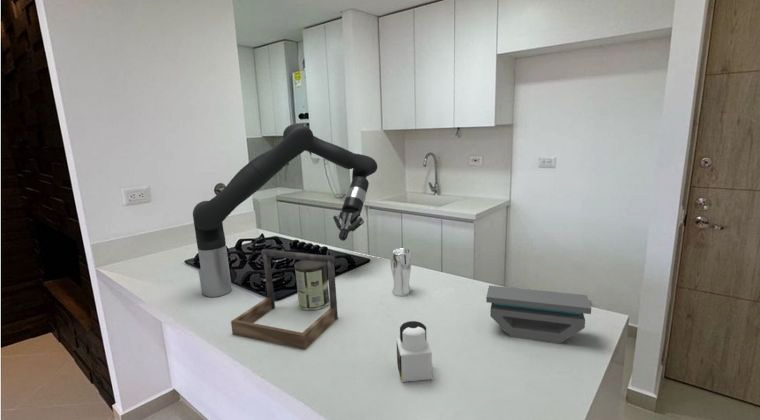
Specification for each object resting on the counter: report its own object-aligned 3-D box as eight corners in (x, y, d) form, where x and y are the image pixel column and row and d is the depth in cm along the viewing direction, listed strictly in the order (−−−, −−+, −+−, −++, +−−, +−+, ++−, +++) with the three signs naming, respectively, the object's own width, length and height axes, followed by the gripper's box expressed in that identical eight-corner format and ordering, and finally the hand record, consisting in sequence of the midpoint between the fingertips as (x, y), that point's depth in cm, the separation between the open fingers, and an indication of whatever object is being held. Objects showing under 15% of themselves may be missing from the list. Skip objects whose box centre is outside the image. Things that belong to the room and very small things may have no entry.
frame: (271, 306, 129) (265, 248, 125) (339, 317, 119) (334, 255, 115) (231, 333, 113) (222, 268, 108) (306, 349, 103) (299, 278, 99)
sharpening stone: (583, 332, 106) (586, 295, 103) (588, 348, 99) (591, 308, 96) (488, 320, 114) (489, 285, 112) (485, 333, 107) (486, 296, 105)
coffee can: (316, 294, 137) (313, 255, 134) (335, 302, 130) (333, 262, 127) (291, 304, 130) (287, 264, 127) (310, 313, 123) (307, 271, 120)
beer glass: (412, 288, 138) (411, 247, 135) (411, 296, 132) (410, 254, 128) (392, 288, 139) (390, 247, 136) (390, 296, 132) (389, 254, 129)
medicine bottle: (397, 364, 95) (395, 319, 93) (426, 361, 96) (425, 316, 93) (401, 383, 88) (399, 334, 86) (432, 380, 89) (431, 332, 86)
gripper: (336, 195, 154) (322, 233, 146) (366, 196, 149) (354, 236, 141) (343, 205, 160) (330, 243, 152) (372, 206, 155) (361, 245, 147)
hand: (342, 239), depth 146 cm, fingers closed
